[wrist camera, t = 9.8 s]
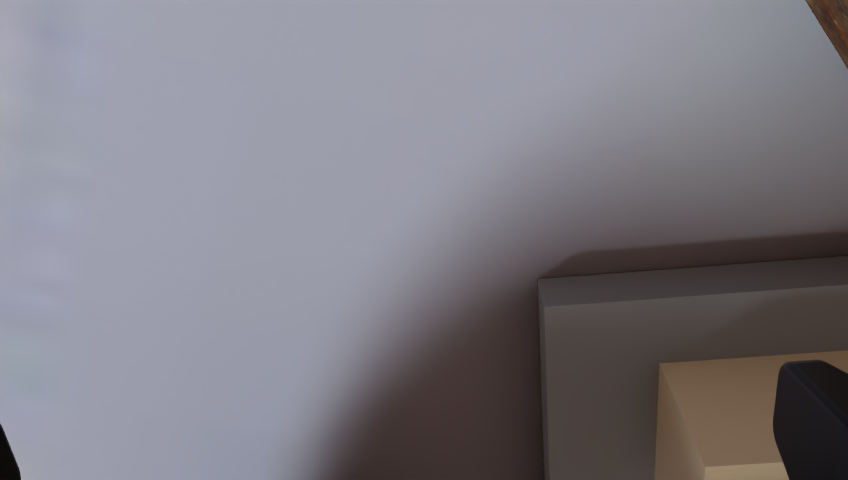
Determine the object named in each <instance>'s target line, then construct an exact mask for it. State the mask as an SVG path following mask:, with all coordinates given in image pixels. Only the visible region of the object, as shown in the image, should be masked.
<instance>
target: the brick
mask: <svg viewBox="0 0 848 480" xmlns="http://www.w3.org/2000/svg"><path fill="white" fill-rule="evenodd" d="M806 2H807V3H808V5H809V7H810V8H811V10H812V12H813V13H814V15H815V16H816V18H817V20H818V21H819V23H820V25H821V26H822V28H823V29H824V31H825V33H826V34H827V36H828V38H829V39H830V41H831V42H832V44H833V45H834V47H835V49H836V50H837V52H838V53H839V55H840V57H841V58H842V60H843V62H844V63H845V65H846V67H847V68H848V0H806Z"/></svg>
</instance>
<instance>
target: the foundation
mask: <svg viewBox="0 0 848 480" xmlns="http://www.w3.org/2000/svg"><path fill="white" fill-rule="evenodd" d="M538 307H539V336H540V365H541V394H542V424H543V453H544V480H789V478H788V475H787V472H786V469H785V467H784V464H783V461H782V459H781V456H780V453H779V450H778V448H777V445H776V442H775V438H774V433H773V415H774V406H775V398H776V389H777V381H778V374H779V370H780V368H781V366H782V365H783V364H784V363H786V362H789V361H802V360H816V359H817V360H822V361H825V362H827V363H829V364H831V365H833V366H835V367H837V368H839V369H840V370H842V371H844V372H846V373H848V256H837V257H824V258H810V259H797V260H784V261H770V262H757V263H744V264H731V265H717V266H704V267H691V268H677V269H664V270H651V271H637V272H624V273H611V274H597V275H584V276H571V277H557V278H544V279H538Z"/></svg>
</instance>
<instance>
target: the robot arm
mask: <svg viewBox="0 0 848 480" xmlns="http://www.w3.org/2000/svg"><path fill="white" fill-rule="evenodd" d="M773 433H774V438H775V442H776V445H777V448H778V450H779V453H780V456H781V459H782V461H783V464H784V467H785V469H786V472H787V475H788V478H789V480H848V373H846V372H844V371H842V370H840V369H839V368H837V367H835V366H833V365H831V364H829V363H827V362H825V361H822V360H817V359H816V360H802V361H789V362H786V363H784V364H783V365H782V366H781V368H780V370H779V374H778V381H777V389H776V398H775V406H774V415H773ZM0 480H21V476H20V471H19V467H18V465H17V462H16V460H15V457H14V455H13V452H12V450H11V447H10V445H9V442H8V440H7V437H6V435H5V432H4V430H3V428H2V426H1V424H0Z"/></svg>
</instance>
